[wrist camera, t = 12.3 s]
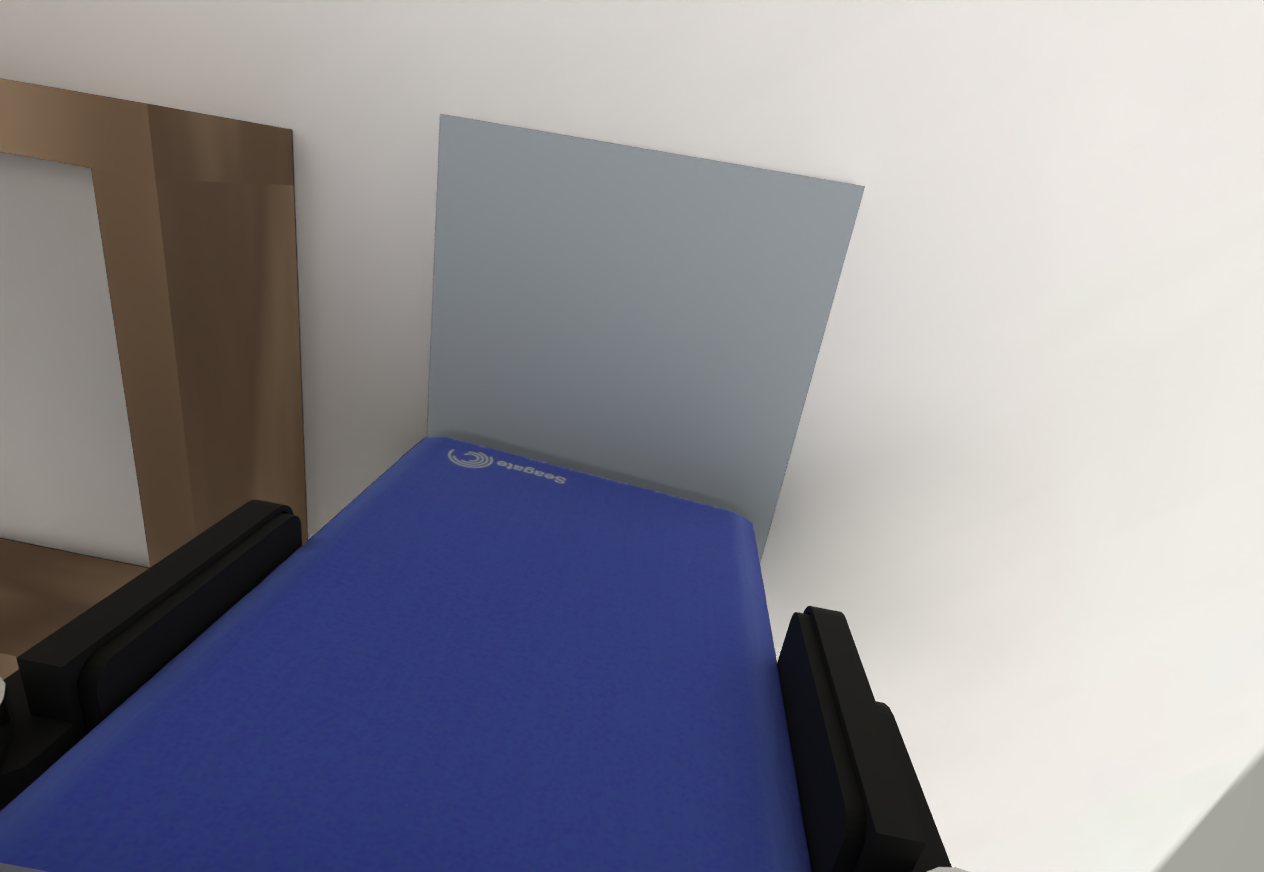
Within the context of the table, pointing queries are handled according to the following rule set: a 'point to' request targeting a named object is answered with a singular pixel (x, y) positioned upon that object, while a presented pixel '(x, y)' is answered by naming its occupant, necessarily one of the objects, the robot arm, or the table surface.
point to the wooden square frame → (174, 327)
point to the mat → (630, 309)
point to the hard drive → (455, 698)
